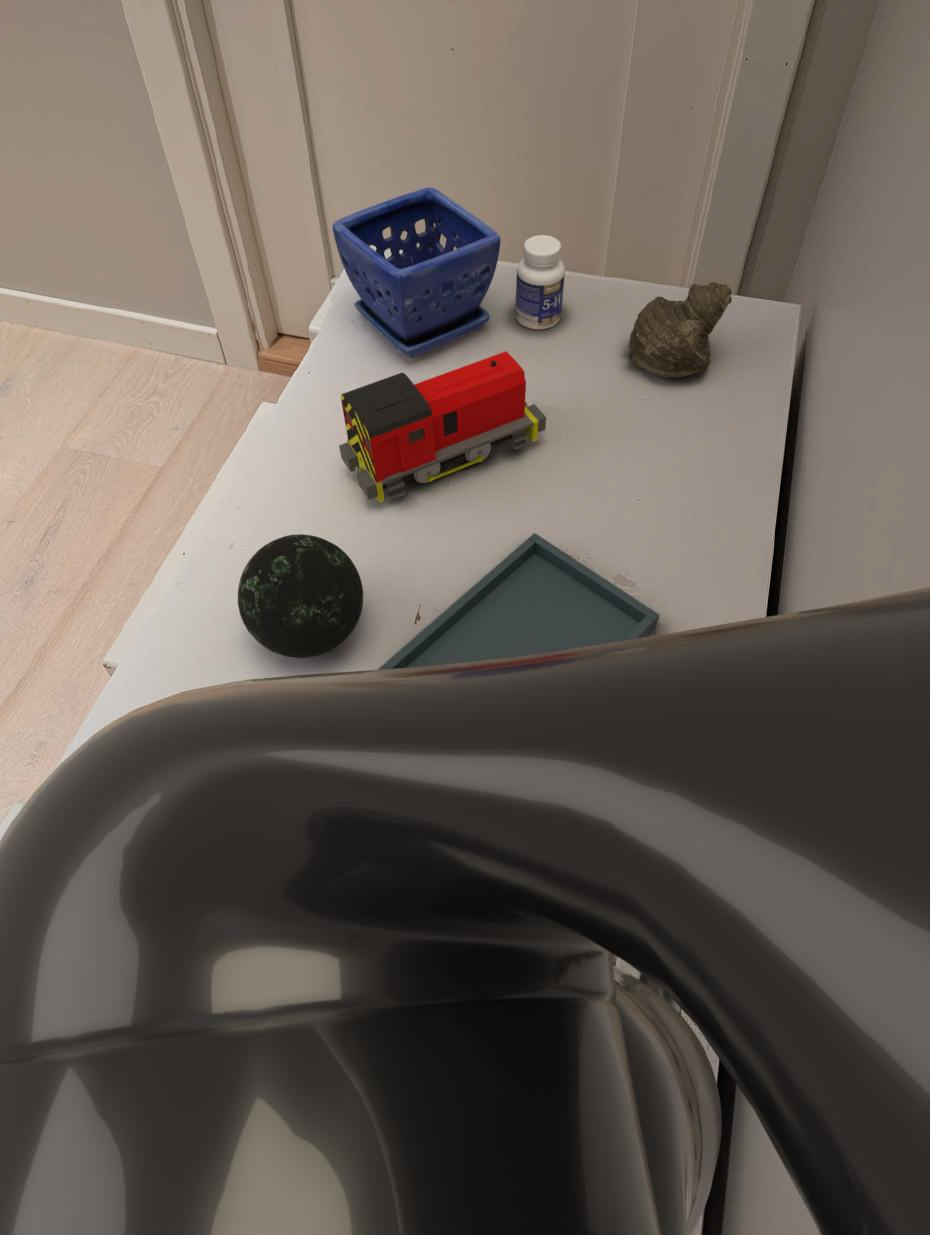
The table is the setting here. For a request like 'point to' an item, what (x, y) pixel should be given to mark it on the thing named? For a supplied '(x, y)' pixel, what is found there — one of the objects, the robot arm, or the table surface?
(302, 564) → the decorative stone
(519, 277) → the pill bottle
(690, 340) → the seashell
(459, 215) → the flower pot
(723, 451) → the table surface
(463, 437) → the toy train
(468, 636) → the tray
